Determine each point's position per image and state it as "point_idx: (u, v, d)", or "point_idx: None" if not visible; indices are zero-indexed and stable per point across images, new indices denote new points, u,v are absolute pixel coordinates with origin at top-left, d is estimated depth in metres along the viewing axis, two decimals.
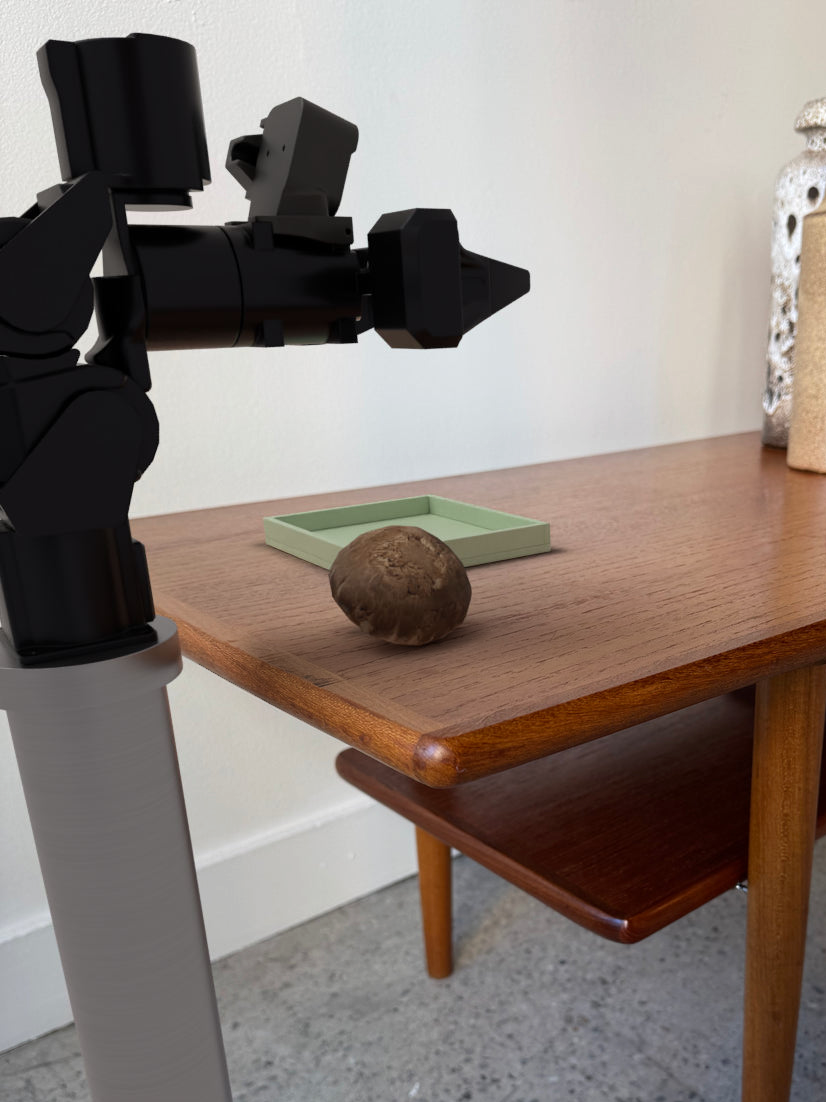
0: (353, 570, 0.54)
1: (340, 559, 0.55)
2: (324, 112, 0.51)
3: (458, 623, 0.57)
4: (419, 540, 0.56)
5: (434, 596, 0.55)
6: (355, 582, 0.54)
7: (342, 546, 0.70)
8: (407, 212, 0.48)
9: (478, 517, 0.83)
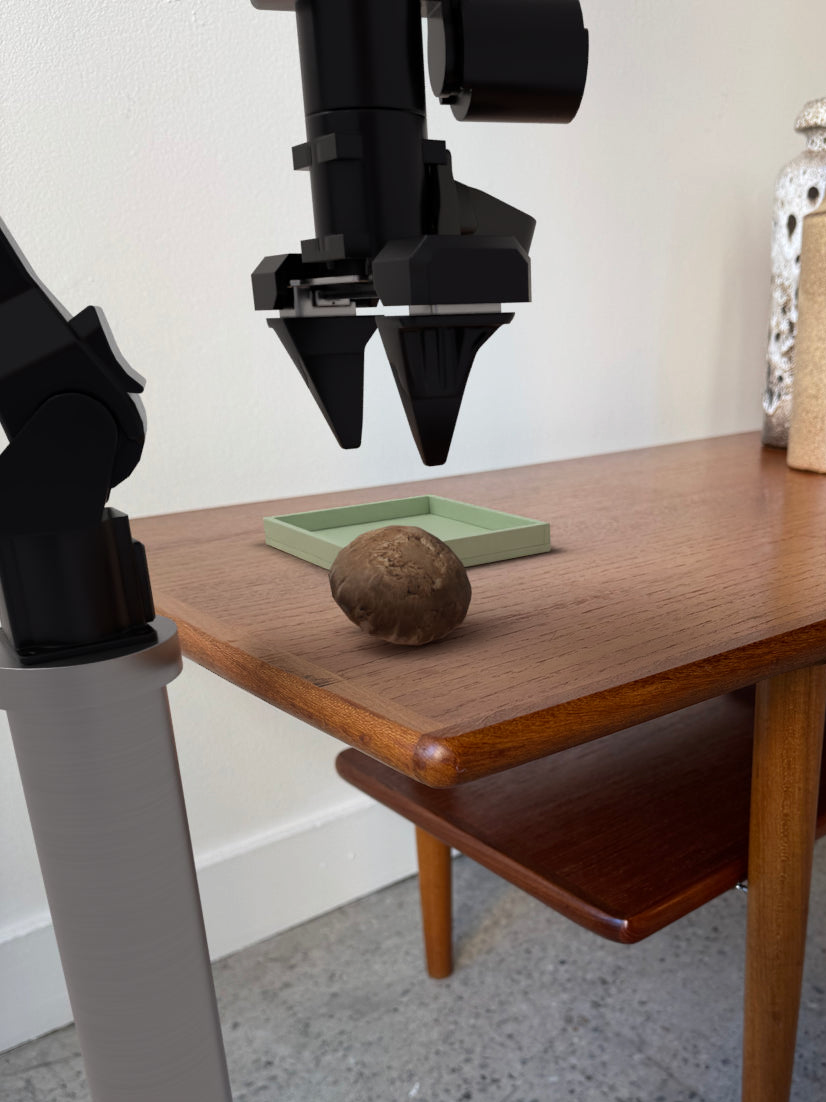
0: (353, 570, 0.54)
1: (340, 559, 0.55)
2: (530, 243, 0.53)
3: (458, 623, 0.57)
4: (419, 540, 0.56)
5: (434, 596, 0.55)
6: (355, 582, 0.54)
7: (342, 546, 0.70)
8: None
9: (478, 517, 0.83)
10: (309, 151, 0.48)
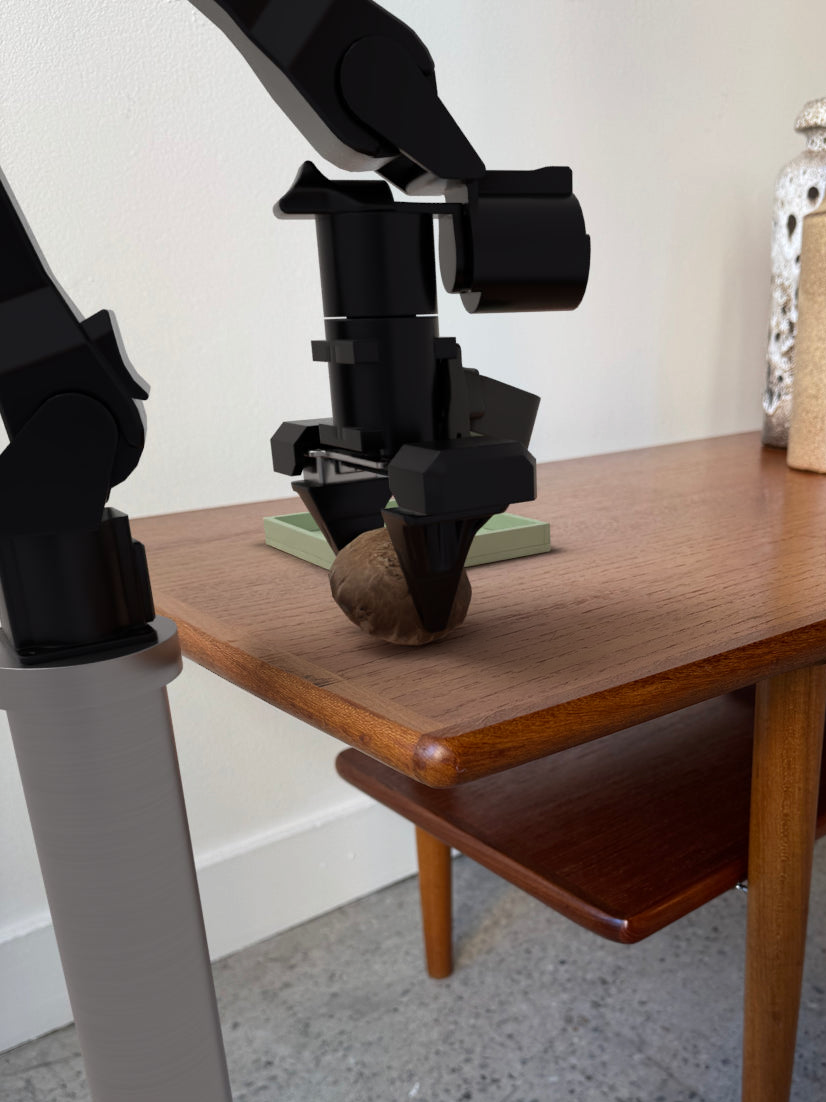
0: (353, 570, 0.54)
1: (340, 559, 0.55)
2: (535, 419, 0.57)
3: (458, 623, 0.57)
4: None
5: None
6: (355, 582, 0.54)
7: None
8: None
9: None
10: (328, 349, 0.52)
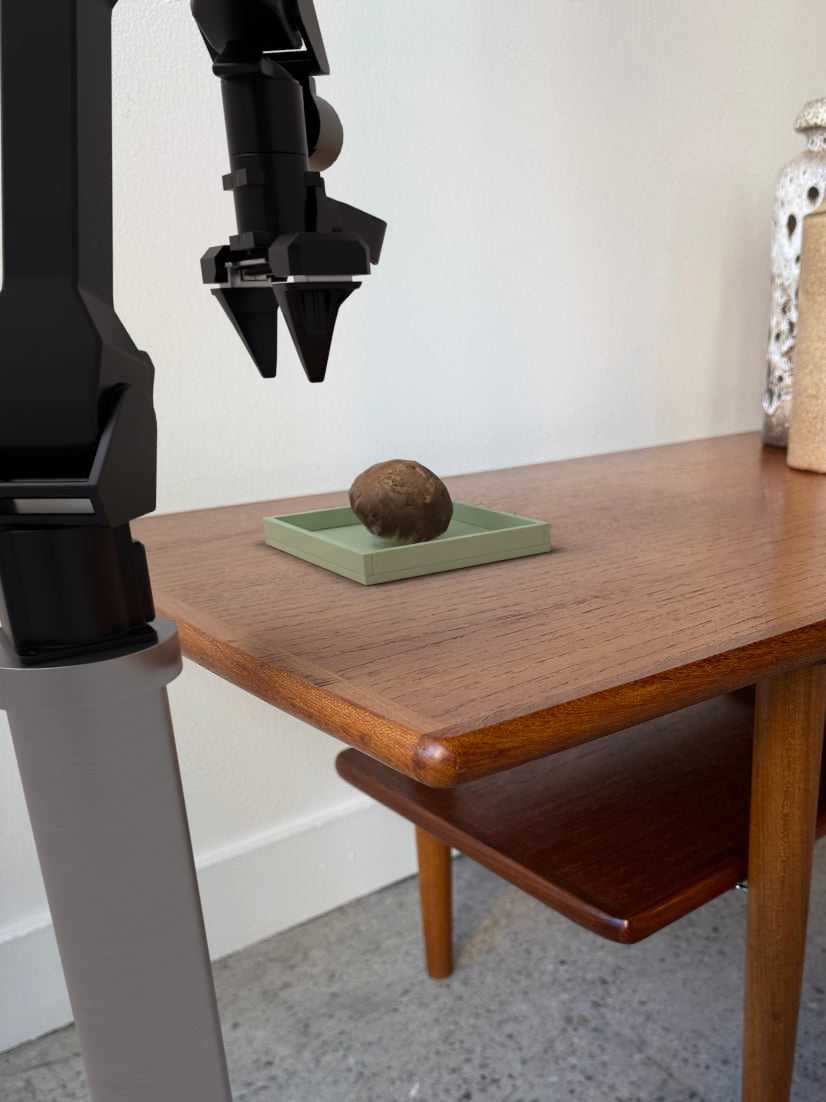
0: (367, 488, 0.75)
1: (357, 481, 0.76)
2: (383, 238, 0.81)
3: (443, 530, 0.78)
4: (414, 469, 0.77)
5: (425, 507, 0.76)
6: (368, 497, 0.75)
7: (342, 546, 0.70)
8: None
9: (478, 517, 0.83)
10: (231, 179, 0.76)
